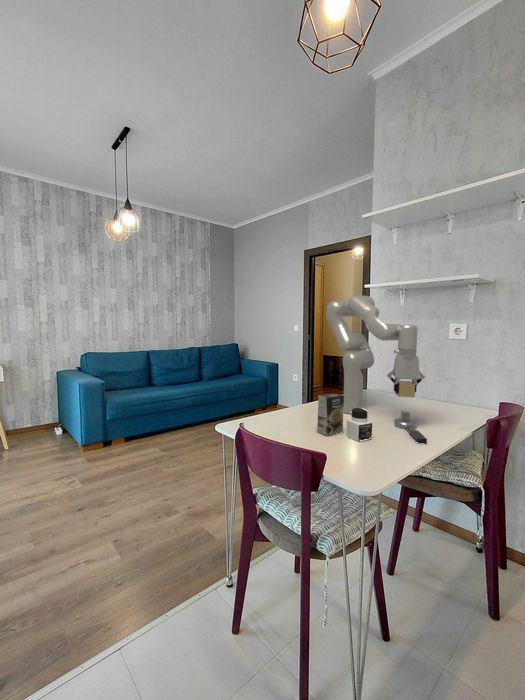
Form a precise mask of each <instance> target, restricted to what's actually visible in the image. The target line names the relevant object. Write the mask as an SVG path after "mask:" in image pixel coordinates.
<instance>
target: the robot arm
mask: <svg viewBox="0 0 525 700" xmlns="http://www.w3.org/2000/svg"><path fill="white" fill-rule="evenodd" d="M375 304H376V303H375V300H374V298H373V297H371V296H370V295H359V294H357V295H353V296H350V298H349V299H348V300H333V301H330V302H329V303H328V304H327V306H326V309H325V317H326V321H327V323H328V325H329V327H331V330H332V332H333V335H334V337H335V340H336V343H337V345H338V347H339V349H340V350H341V351H345V352H346V353H345V354H344V355H343V357H342V366H343V395H344V409H343V412H345V413H344V414H347V413H350V414H349V415H352V409H354V408H363V397H364V396H363V395H364V394H363V393H364V377H363V373H362V371H361V370H363V369H364V370H365V369H370V368H372V367H373V366H374V364H375V356H374V354H373V351H372V348H371V346H370V344H369V342H368V340H367V339H366V336H364V334H362V333H360V332H352V331H351V329H350V326H349V325H348V323H347V322H346V321H345V320H344V319H343V317H345V318H346V317H347V318H351V317H359V318H360V319H361V320H362V321H363V322H365V327H366V329H367V330H368V332H369V333H371V335H373V336H374V337H375V338H377V339H378V340H380V341H385V342H386V341H387V342H388V341H397V349H394V350H393V352H394V354H396V355H395V359H394V363H393V369H392V370H391V371H390V372H388V373H387V374H386V377H388V379H389V380H390V381H391V382H392V383H393V391H394V393H398V381H401V380H411V381H412V382H413V383H415V393H417V389H418V388H417V386H418V385H419V384H420V383H421V382H422V381H423V380H424V379H425V378H426V376H425V375H424V374H423V373H422V372H421V371H420V361H419V359H420V358H419V356H417V349H418V348H417V345H418V344H417V343H418V326H417V325H415V324H399V323H384V322H383V321H382V320H380V318H379V316H380V315H379V314H380V310H379V308H377V307H376V306H375ZM393 377H394V378H393Z"/></svg>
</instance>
